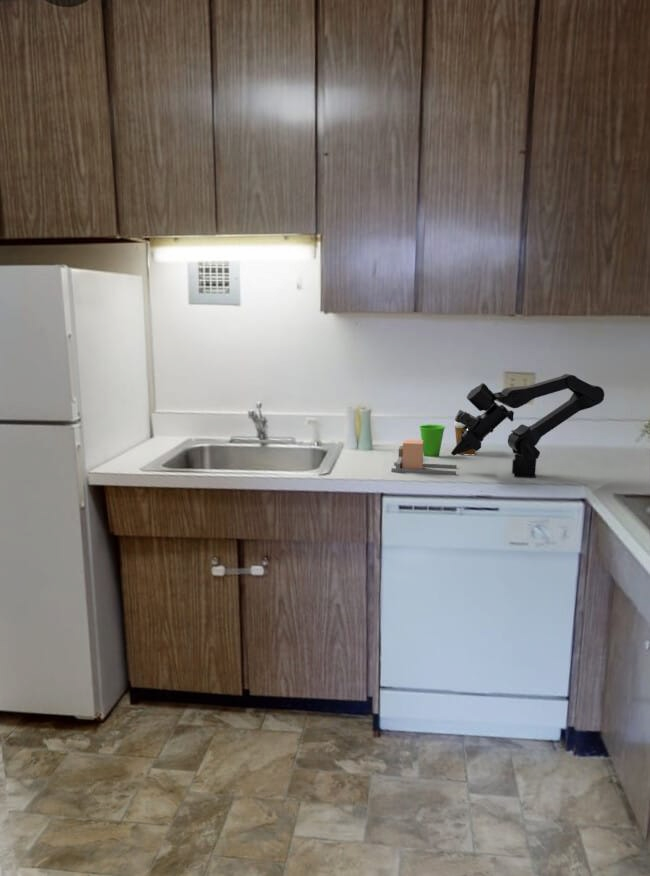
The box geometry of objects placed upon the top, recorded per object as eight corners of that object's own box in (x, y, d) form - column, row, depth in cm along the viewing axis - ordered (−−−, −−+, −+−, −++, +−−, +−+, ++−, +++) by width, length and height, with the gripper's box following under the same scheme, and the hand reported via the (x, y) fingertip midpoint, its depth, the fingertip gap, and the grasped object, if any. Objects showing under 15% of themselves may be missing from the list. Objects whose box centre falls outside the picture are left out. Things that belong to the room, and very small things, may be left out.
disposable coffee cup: (447, 453, 241) (448, 421, 239) (461, 449, 248) (462, 417, 246) (471, 457, 235) (472, 423, 232) (484, 453, 242) (485, 420, 240)
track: (456, 470, 216) (456, 459, 215) (455, 478, 206) (456, 466, 206) (394, 467, 220) (394, 456, 219) (391, 475, 210) (391, 463, 210)
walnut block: (414, 460, 231) (414, 446, 230) (413, 463, 226) (413, 449, 225) (399, 459, 232) (400, 445, 231) (398, 463, 227) (398, 448, 226)
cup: (448, 456, 237) (449, 425, 235) (438, 461, 229) (439, 429, 227) (424, 453, 241) (425, 423, 239) (414, 458, 234) (415, 427, 231)
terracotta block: (422, 467, 216) (423, 440, 214) (421, 471, 210) (422, 443, 209) (404, 466, 217) (404, 439, 216) (402, 471, 212) (402, 443, 210)
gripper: (471, 397, 215) (435, 430, 219) (470, 406, 197) (432, 441, 202) (495, 422, 215) (459, 454, 219) (497, 433, 197) (458, 468, 201)
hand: (452, 454), depth 210 cm, fingers closed
